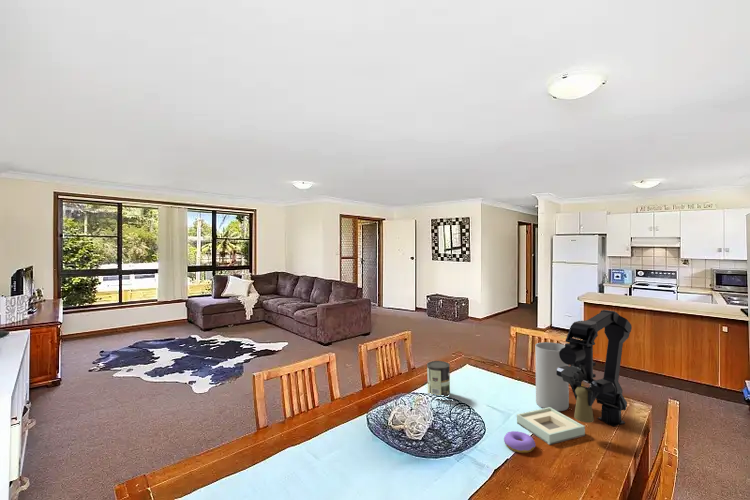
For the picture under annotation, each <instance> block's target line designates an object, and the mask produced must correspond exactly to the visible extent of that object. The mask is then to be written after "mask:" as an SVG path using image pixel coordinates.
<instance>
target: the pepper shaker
mask: <svg viewBox="0 0 750 500" xmlns="http://www.w3.org/2000/svg"><path fill="white" fill-rule="evenodd" d="M587 387H588V386H584V385H581V386H578V387H577V388H576V389H575V393H576V395H577V400H576V399H575V401H576V402H575V408H574V415H573V417H574V419H575V420H577V421H578V422H582V423H589V424H590V423H593V422H594V421H595V420H594V413H593V405H592V406H589V405H588V391H587V390H586V389H585V388H587Z"/></svg>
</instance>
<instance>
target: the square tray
mask: <svg viewBox="0 0 750 500" xmlns="http://www.w3.org/2000/svg"><path fill="white" fill-rule="evenodd" d="M516 423H517V424H518V425H519V426H520V427H521V428H523V429H525V430H526V431H528V432H529V433H531V434H532V435H534V436H535V437H537V438H538V439H540V440H542V442H544V443H546V444H547V445H550V446H552V445H554V444H559V443H562V442H567V441H570V440H574V439H578V438H581V437H582V438H583V437H585V436H586V425H584V424H582V423H579V421H576V420H574V419H572V418H570V417H569V416H567V415H565V414H563V413H561V411H556V410H554V409H552V408H551V407H548V408H539V409H536V410H531V411H526V412H521V413H517V414H516Z"/></svg>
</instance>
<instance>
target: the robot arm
mask: <svg viewBox="0 0 750 500" xmlns="http://www.w3.org/2000/svg"><path fill="white" fill-rule="evenodd" d="M602 329H604V332H603V333H604V335H605V337H606V338H607V348H606V355H605V365H604V372H603V377H602V378H600V379H594V378H596V373H594V366H596V364H597V363H596V362H595V361H594V356H593V355H594V353H593V351H594V345H596V343H595V340H596V338H598V336H599V334H598V332H600V331H601V330H602ZM631 332H632V324H631V322H630V321H629V320H628V319H627V318H626V317H624V316H622V315H620V314H619V313H618V312H616V311H614V310H609V309H608V310H607V309H602V310H600V311H599V313H597V314H596V315H593V316H592V317H591V318H588V319H587V320H578V321H574V322H573V323H572V324H571V325H570V326H569V330H568V333H567V335H566V337H565V342H566V343H565V344H564V345H565V347H564V348H562V349H561V350H560V352H559V356H560V359H561V360H562V361H563V362H564V363H565V364H567V365H569V366H563V367H558V368H557V370H556V375H558V376H560V377H562V378H563V381H565V382H568V383H569V387H571V390H572V393H573V396H574V399H575V401H576V400H577V395H576V393H575V389H576V388H577V387H578V386H582V383H583V382H584V383H587V384H589V386H586V387H587V388H585V389H586V390H587V391H588V405H589V406H592V407H593V404H594V403H595V401H596V404H600V405H601V410H600V412H601V415H600V416H598V417H597V419H598V420H600V421H601V422H603V423H605V424H607V425H609V426H611V427H616V426H621V425H624V424H626V422H625V421H624V420H622V411H626V409H627V406H628V401H627V400H626V398H625V397H624V395H623V388H622V386H621V384H620V382H619V381H620V380H619V377H620V370H621V363H622V354H623V346H624V343H625V342H626V341H627V340H628V339H629V338H630V335H631Z"/></svg>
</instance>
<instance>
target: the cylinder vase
mask: <svg viewBox="0 0 750 500" xmlns="http://www.w3.org/2000/svg"><path fill="white" fill-rule="evenodd" d="M564 347H565V344H562V343H558V342H550V341H549V342H547V341H546V342H544V341H543V342H538V343H536V344H535V347H534V348H535V349H534V350H535V351H534V352H535V402H536V405H538V406H539V407H541V409H544V408H548V407H551V408H552V409H554V410H556V411H558V412H564V411H567V410H568V409H569V407H570V405H569V404H570V402H569V400H570V394H569V393H570V392H569V391H570V388H569V387H570V384H569V383H568V382H565V381H563V378H562V377H560V376H558V375H556V370H557V368H558V367H563V366H569V367H570V365H567V364H565V363H564V362H563V361H562V360H561V359H560V356H559V352H560V350H561V349H562V348H564Z"/></svg>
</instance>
